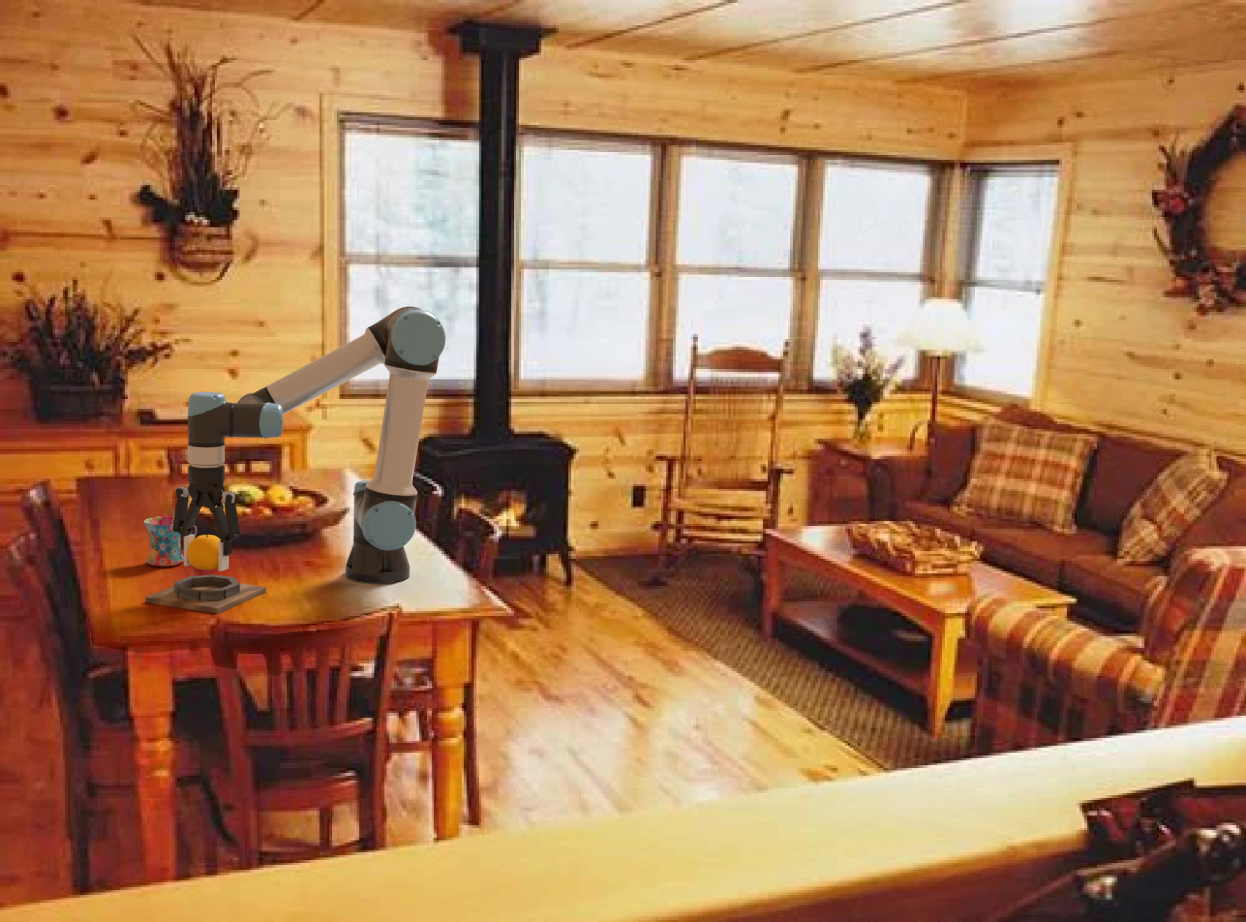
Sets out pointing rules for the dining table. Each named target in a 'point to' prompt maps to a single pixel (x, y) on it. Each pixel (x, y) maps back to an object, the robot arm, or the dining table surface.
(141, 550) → the dining table surface
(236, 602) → the ring board
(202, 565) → the orange fruit
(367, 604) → the dining table surface
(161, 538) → the mug
